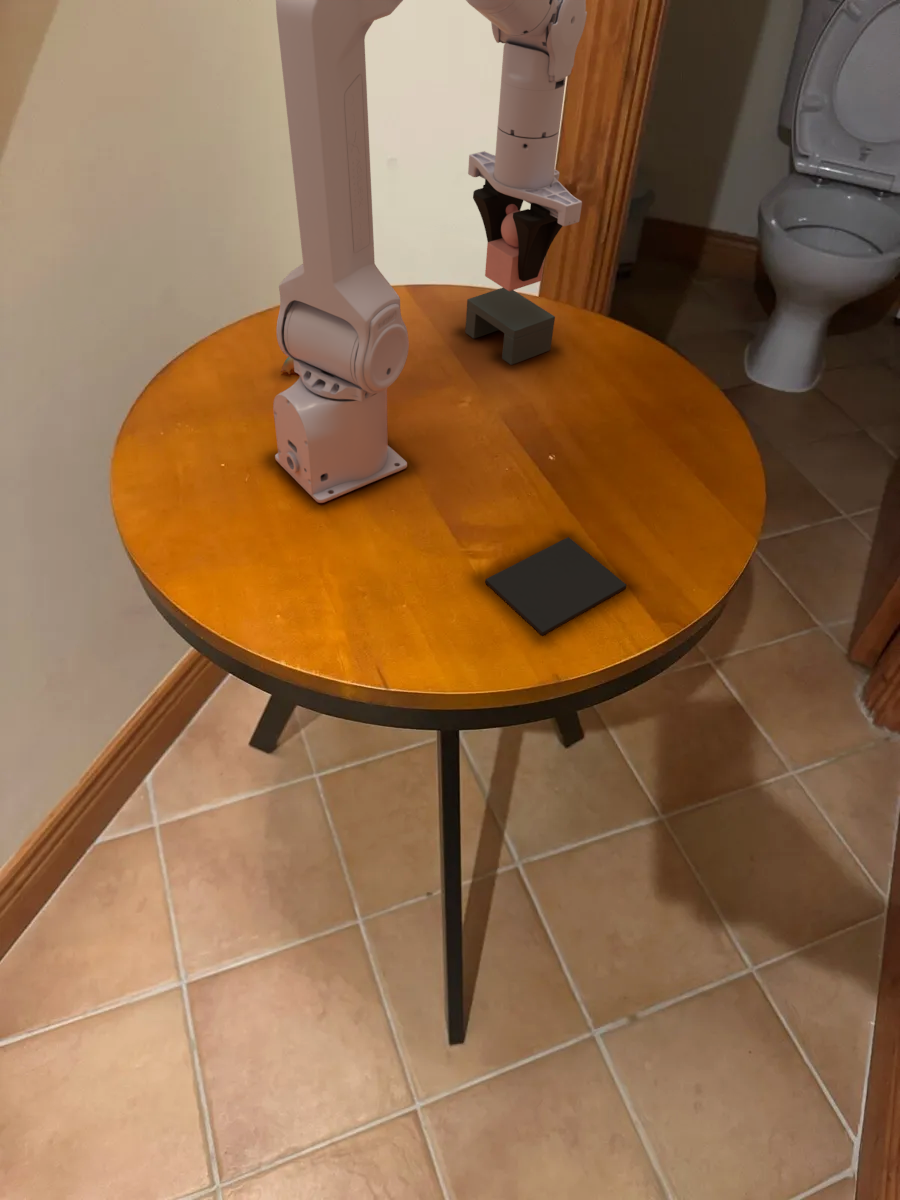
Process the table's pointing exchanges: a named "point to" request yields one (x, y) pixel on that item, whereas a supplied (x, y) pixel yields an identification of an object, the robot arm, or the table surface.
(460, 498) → the table surface
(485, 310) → the grey step stool
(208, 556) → the table surface
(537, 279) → the toy
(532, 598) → the mat
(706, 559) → the table surface
